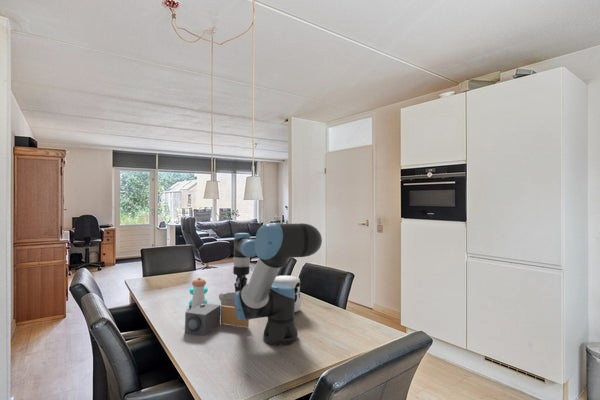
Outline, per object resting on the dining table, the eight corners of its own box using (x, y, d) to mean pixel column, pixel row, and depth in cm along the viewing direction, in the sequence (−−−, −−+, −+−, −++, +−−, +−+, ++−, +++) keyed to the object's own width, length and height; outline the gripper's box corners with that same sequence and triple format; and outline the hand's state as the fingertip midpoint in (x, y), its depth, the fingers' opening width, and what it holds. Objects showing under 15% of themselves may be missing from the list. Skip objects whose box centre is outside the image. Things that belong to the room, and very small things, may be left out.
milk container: (282, 304, 185) (283, 273, 185) (306, 310, 175) (307, 278, 175) (262, 312, 171) (263, 278, 171) (288, 319, 161) (289, 284, 161)
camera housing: (220, 323, 153) (220, 303, 153) (202, 337, 137) (202, 314, 137) (201, 321, 155) (202, 301, 155) (182, 334, 140) (182, 312, 140)
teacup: (244, 309, 174) (244, 295, 174) (227, 314, 166) (228, 299, 166) (229, 303, 183) (230, 290, 183) (213, 308, 175) (213, 293, 175)
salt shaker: (193, 311, 168) (194, 276, 169) (207, 312, 168) (208, 276, 168) (188, 316, 161) (189, 279, 161) (202, 317, 161) (203, 279, 161)
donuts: (201, 291, 173) (185, 289, 176) (200, 309, 173) (185, 307, 176) (211, 286, 183) (196, 284, 186) (210, 303, 182) (196, 301, 185)
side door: (221, 322, 153) (221, 305, 153) (248, 326, 149) (249, 308, 149) (220, 323, 152) (220, 306, 152) (247, 327, 148) (248, 309, 148)
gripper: (238, 263, 156) (236, 311, 155) (229, 267, 143) (227, 319, 143) (252, 263, 155) (251, 311, 154) (245, 268, 142) (243, 320, 142)
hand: (240, 315), depth 148 cm, fingers closed
